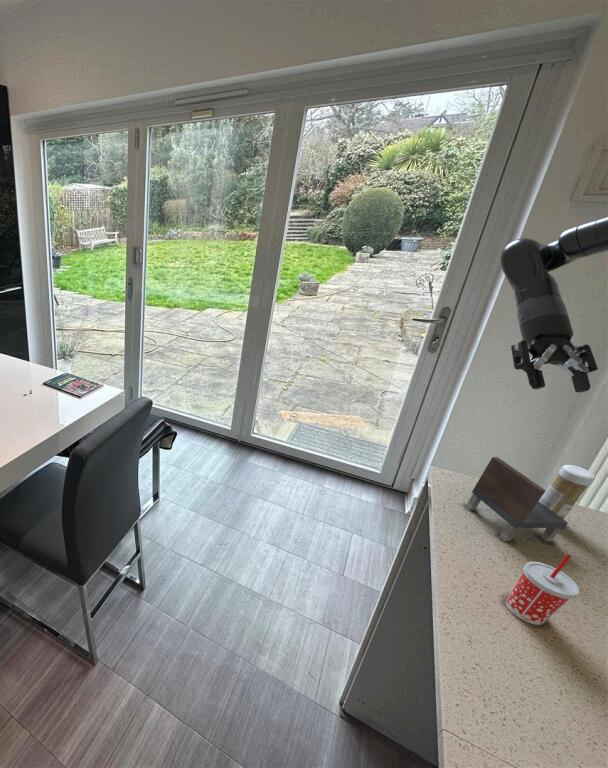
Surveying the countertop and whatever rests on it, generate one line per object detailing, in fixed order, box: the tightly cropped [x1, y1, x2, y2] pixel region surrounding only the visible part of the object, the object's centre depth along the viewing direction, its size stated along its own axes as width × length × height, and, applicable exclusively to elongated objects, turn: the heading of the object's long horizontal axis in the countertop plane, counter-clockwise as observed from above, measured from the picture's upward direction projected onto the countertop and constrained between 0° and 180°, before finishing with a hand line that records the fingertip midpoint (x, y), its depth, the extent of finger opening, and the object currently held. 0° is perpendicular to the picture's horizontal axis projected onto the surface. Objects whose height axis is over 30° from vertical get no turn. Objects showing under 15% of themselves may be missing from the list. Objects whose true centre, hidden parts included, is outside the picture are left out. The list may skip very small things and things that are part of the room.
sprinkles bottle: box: [539, 464, 596, 520], centre depth 84 cm, size 5×5×14 cm
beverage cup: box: [505, 554, 580, 626], centre depth 65 cm, size 6×6×14 cm
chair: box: [465, 456, 569, 542], centre depth 83 cm, size 10×10×14 cm
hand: (560, 389), depth 86 cm, fingers open, 8 cm apart
